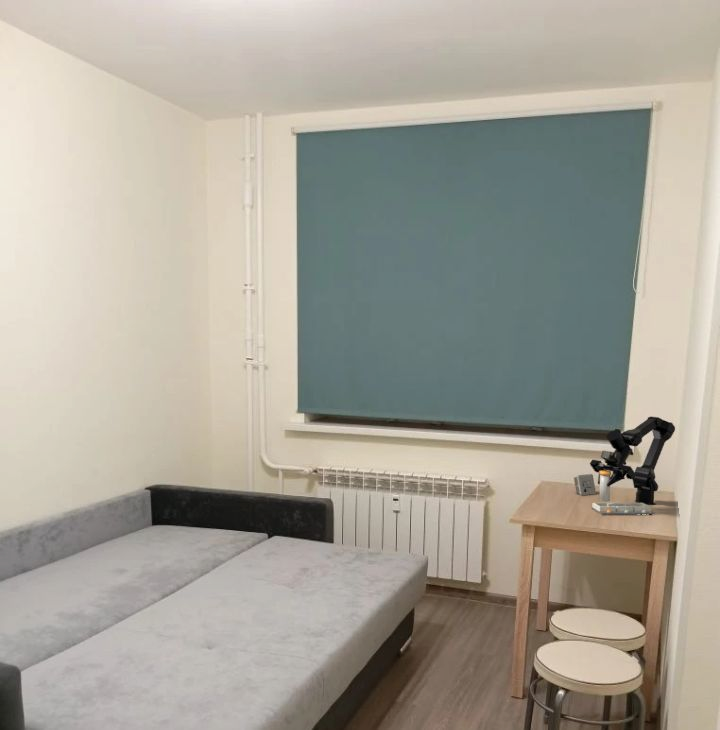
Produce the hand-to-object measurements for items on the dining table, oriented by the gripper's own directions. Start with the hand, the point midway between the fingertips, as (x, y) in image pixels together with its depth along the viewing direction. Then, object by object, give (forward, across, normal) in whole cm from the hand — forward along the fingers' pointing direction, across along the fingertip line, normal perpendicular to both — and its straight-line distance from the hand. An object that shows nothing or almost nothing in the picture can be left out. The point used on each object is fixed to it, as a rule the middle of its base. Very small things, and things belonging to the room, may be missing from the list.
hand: (602, 484), depth 275 cm
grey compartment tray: (+3, +4, +13) cm, 14 cm away
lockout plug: (+4, 0, +6) cm, 7 cm away
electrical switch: (-7, -25, +24) cm, 35 cm away
